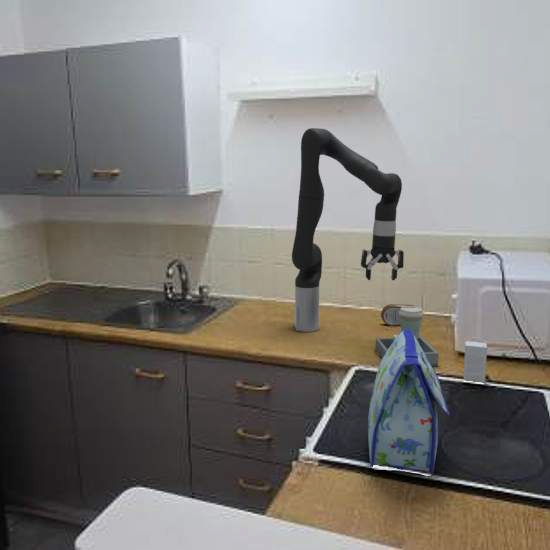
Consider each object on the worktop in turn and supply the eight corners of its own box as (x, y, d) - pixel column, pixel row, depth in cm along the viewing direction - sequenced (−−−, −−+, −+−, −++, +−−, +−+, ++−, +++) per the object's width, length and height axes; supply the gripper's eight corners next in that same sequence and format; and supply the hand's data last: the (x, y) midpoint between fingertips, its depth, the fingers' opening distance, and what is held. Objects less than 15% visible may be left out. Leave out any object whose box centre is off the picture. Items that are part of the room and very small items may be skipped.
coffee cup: (424, 338, 203) (425, 306, 200) (419, 345, 195) (421, 313, 193) (400, 335, 206) (401, 304, 204) (395, 342, 199) (396, 310, 196)
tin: (419, 324, 219) (420, 304, 217) (420, 327, 216) (421, 306, 214) (380, 323, 221) (381, 303, 219) (381, 326, 218) (382, 305, 216)
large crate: (388, 368, 175) (388, 355, 174) (375, 350, 191) (375, 338, 190) (437, 366, 176) (438, 353, 175) (420, 349, 192) (421, 336, 191)
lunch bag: (447, 480, 116) (455, 363, 110) (367, 474, 118) (370, 359, 113) (435, 429, 137) (441, 328, 131) (367, 424, 140) (370, 325, 134)
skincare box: (484, 380, 165) (487, 342, 163) (484, 386, 161) (487, 347, 159) (462, 378, 167) (465, 340, 165) (462, 383, 163) (465, 345, 161)
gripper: (365, 235, 183) (362, 282, 187) (408, 235, 184) (404, 282, 188) (361, 231, 191) (358, 277, 195) (401, 231, 192) (398, 277, 195)
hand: (381, 279), depth 191 cm, fingers open, 8 cm apart
